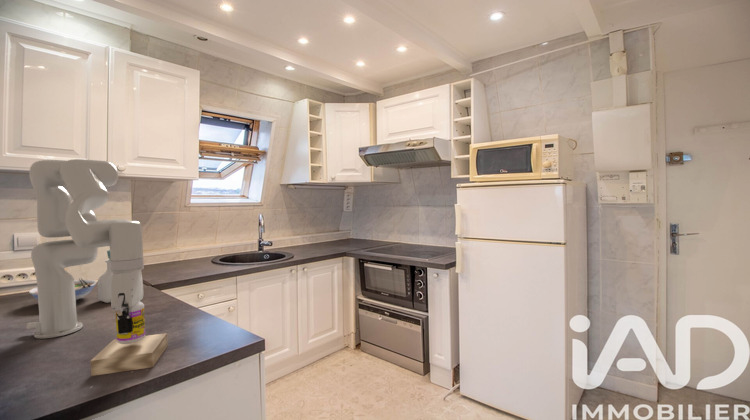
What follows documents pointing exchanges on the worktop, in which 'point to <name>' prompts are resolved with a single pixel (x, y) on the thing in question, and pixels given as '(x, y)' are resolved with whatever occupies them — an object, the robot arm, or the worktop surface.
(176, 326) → the worktop surface
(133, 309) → the supplement bottle
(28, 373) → the worktop surface
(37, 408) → the worktop surface
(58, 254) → the robot arm
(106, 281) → the soap bottle
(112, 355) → the block
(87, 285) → the ramen bowl
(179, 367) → the worktop surface
